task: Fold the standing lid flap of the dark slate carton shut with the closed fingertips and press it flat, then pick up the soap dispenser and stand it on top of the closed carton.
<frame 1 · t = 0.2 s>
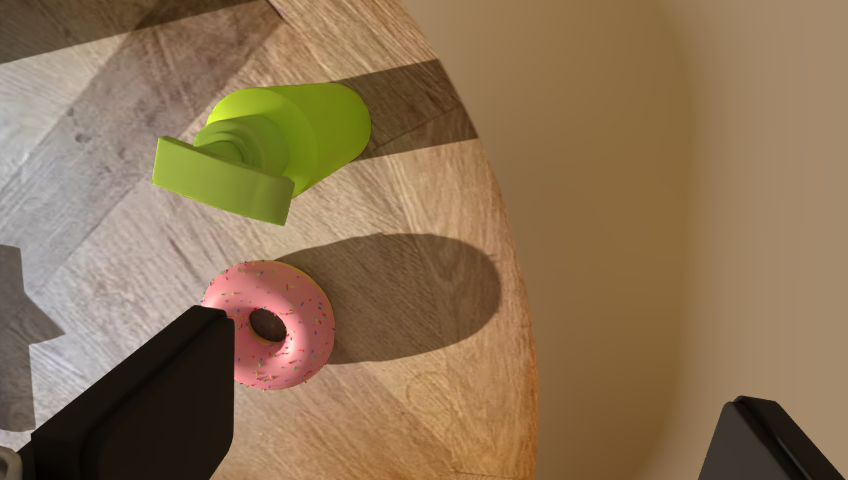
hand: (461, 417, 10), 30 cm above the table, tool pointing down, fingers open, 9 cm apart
soap dispenser: (339, 126, 39), on the table
doughnut: (277, 314, 45), on the table
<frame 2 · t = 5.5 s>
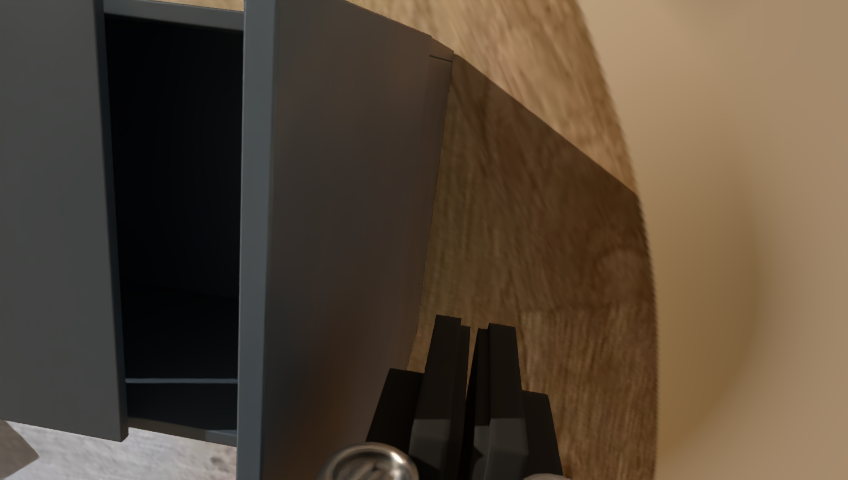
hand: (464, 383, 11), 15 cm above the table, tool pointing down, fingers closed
flap: (346, 366, 11), point 15 cm above the table, hinge at 85.3°, touching gripper
carton: (264, 177, 27), on the table
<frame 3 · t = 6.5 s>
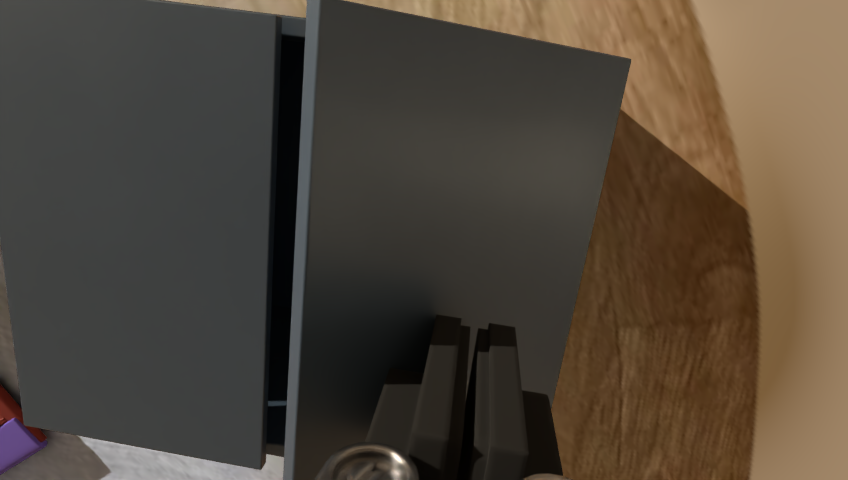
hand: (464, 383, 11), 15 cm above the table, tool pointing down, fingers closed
flap: (458, 358, 12), point 14 cm above the table, hinge at 46.8°
carton: (360, 191, 26), on the table
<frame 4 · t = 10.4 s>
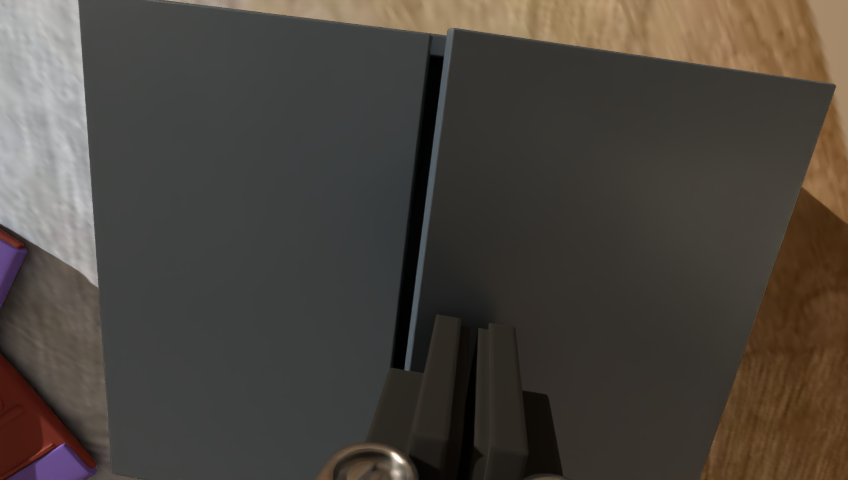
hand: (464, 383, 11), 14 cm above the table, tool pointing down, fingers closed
flap: (581, 371, 13), point 12 cm above the table, hinge at 18.9°, touching gripper
carton: (440, 211, 25), on the table
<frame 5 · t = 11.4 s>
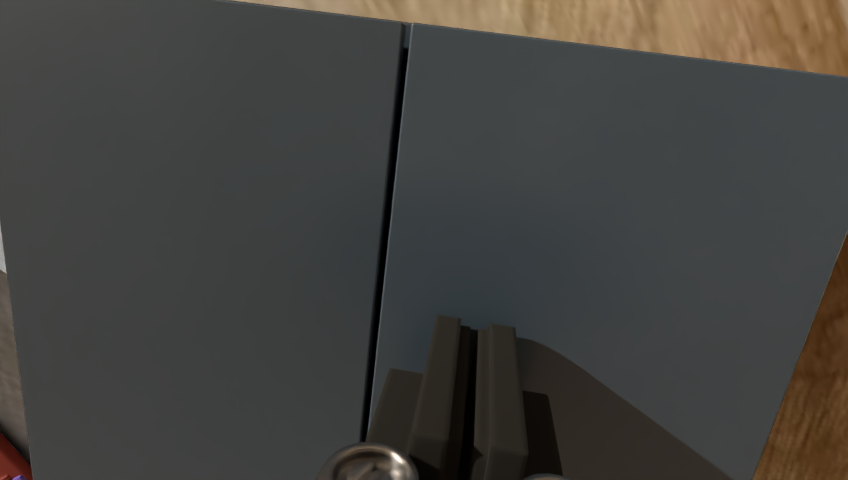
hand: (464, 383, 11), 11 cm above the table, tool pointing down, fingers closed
flap: (567, 393, 12), point 11 cm above the table, hinge at 0.8°
carton: (426, 224, 22), on the table
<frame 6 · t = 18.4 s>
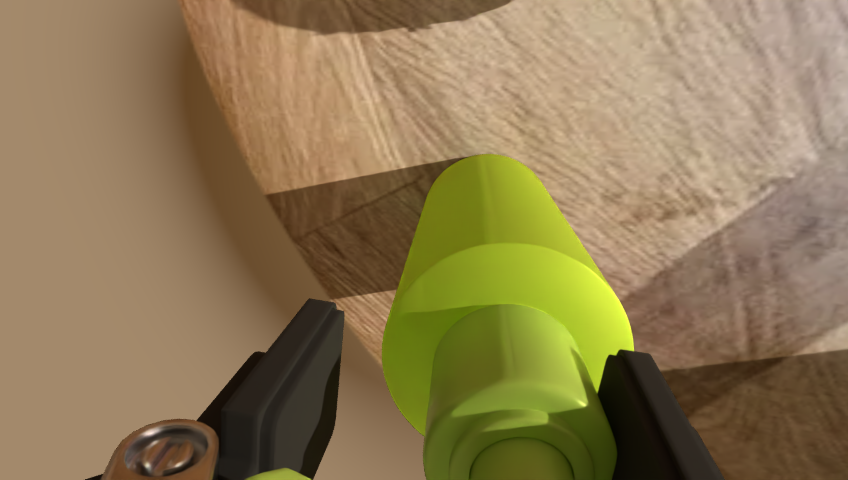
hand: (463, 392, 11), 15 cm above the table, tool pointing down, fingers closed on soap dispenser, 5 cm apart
soap dispenser: (475, 212, 25), on the table, touching gripper
when the fingers open (26 cm above the table, at t = 24.7 s): soap dispenser stays where it is, resting on carton.
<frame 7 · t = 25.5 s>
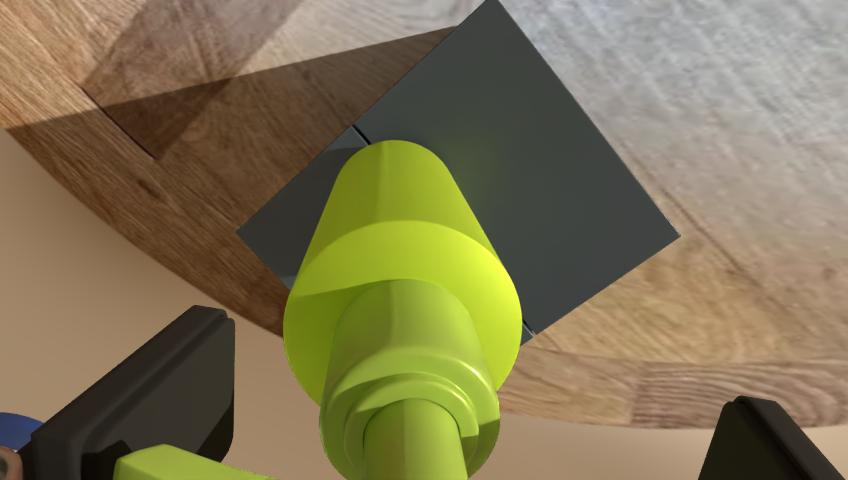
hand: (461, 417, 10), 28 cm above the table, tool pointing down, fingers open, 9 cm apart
flap: (384, 283, 28), point 11 cm above the table, hinge at 0.3°
soap dispenser: (384, 198, 26), point 12 cm above the table, touching carton, gripper
carton: (459, 187, 37), on the table
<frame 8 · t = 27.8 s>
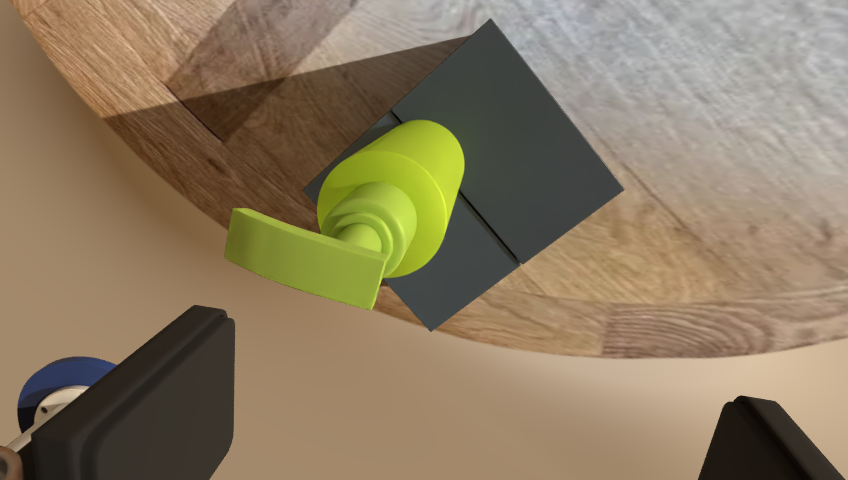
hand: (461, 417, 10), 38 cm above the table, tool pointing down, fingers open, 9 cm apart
flap: (411, 226, 38), point 11 cm above the table, hinge at -1.1°
soap dispenser: (413, 161, 36), point 11 cm above the table, touching carton
carton: (464, 163, 47), on the table
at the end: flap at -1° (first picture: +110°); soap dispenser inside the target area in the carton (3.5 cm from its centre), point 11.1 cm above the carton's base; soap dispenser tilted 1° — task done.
